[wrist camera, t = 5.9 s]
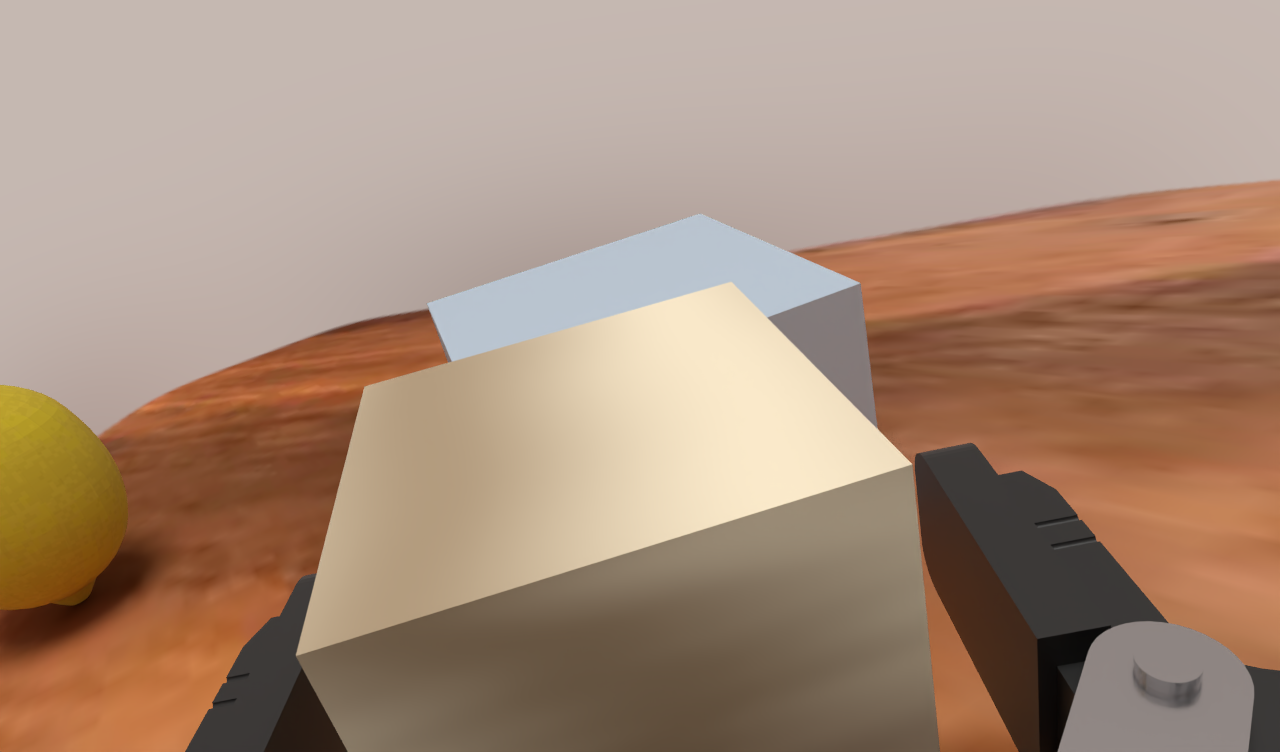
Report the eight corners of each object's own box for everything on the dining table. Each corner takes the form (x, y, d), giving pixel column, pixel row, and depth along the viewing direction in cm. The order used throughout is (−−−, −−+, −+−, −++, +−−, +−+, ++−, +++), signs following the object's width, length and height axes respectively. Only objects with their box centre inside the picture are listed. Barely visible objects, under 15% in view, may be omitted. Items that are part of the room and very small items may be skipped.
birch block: (824, 779, 16) (731, 281, 11) (973, 1094, 11) (911, 464, 7) (565, 867, 15) (365, 386, 11) (608, 1231, 11) (296, 655, 6)
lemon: (181, 593, 26) (45, 367, 23) (-23, 698, 24) (-210, 462, 20) (161, 525, 30) (45, 326, 27) (-13, 607, 28) (-165, 400, 24)
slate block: (729, 362, 32) (700, 213, 30) (883, 480, 24) (860, 283, 21) (482, 455, 30) (426, 303, 28) (549, 623, 21) (478, 423, 19)
